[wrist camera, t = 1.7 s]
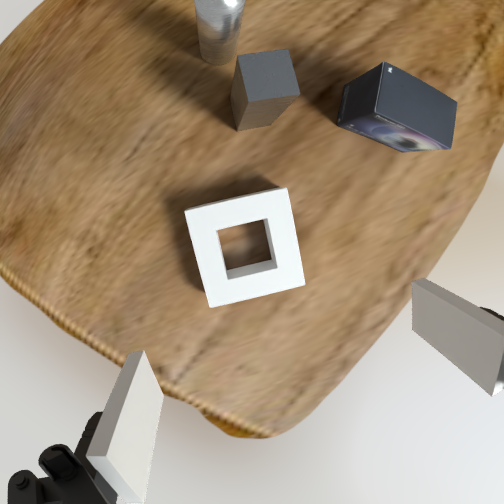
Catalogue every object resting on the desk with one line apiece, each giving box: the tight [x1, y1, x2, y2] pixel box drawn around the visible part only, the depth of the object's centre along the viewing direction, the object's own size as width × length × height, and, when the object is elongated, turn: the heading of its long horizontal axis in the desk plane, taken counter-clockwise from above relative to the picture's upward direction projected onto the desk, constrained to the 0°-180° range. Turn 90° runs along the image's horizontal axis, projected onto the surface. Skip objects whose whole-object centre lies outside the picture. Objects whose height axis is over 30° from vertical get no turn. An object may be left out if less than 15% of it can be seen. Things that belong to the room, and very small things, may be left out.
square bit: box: [230, 49, 300, 131], centre depth 28 cm, size 4×4×14 cm
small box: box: [337, 61, 457, 152], centre depth 31 cm, size 11×6×10 cm, turn 76°
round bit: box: [194, 0, 245, 65], centre depth 26 cm, size 4×4×14 cm
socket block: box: [184, 187, 305, 308], centre depth 36 cm, size 11×11×4 cm
